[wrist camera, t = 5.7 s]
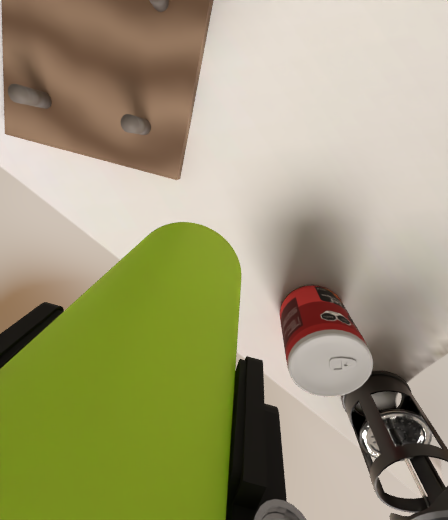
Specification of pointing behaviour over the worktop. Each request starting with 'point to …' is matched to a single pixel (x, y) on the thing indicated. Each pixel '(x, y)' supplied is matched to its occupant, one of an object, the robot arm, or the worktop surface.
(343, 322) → the canned food
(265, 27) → the worktop surface
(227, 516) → the robot arm
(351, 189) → the worktop surface
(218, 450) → the soap dispenser
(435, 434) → the french press
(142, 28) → the peg stand
